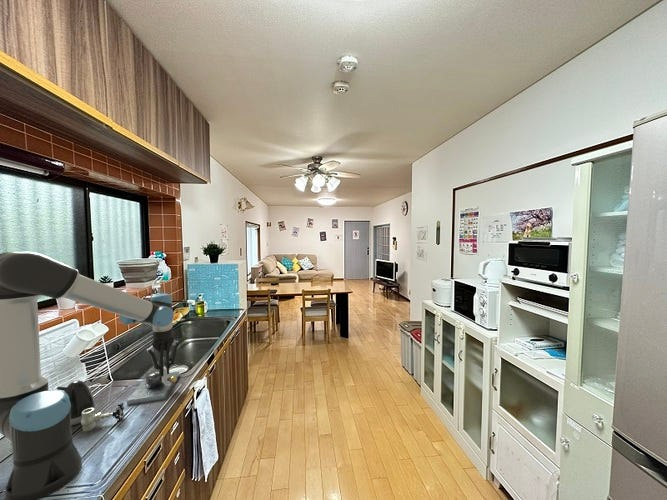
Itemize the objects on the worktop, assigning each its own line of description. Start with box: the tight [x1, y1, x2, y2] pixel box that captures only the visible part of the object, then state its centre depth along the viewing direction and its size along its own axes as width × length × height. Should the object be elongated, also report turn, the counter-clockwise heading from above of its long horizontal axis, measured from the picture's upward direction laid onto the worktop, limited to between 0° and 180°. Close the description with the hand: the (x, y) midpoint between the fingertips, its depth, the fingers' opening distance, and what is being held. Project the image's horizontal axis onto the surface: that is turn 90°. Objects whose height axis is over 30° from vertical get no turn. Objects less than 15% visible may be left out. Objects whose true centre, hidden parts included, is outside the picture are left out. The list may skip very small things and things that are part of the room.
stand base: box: [126, 367, 180, 406], centre depth 129 cm, size 22×14×6 cm, turn 15°
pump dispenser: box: [56, 380, 96, 426], centre depth 107 cm, size 10×10×15 cm
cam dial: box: [145, 369, 178, 388], centre depth 128 cm, size 16×7×5 cm, turn 76°
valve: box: [80, 402, 125, 432], centre depth 104 cm, size 7×7×12 cm
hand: (164, 382), depth 125 cm, fingers closed
